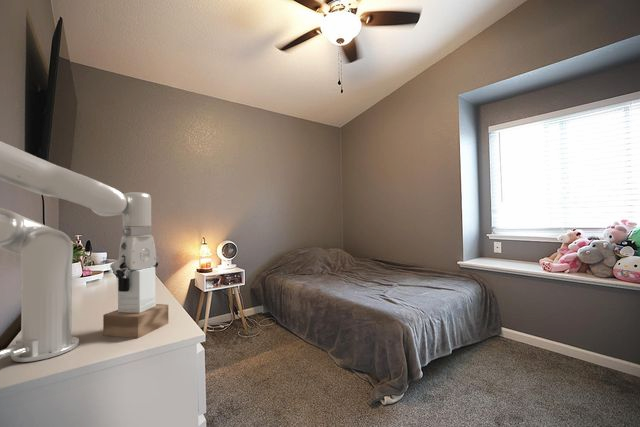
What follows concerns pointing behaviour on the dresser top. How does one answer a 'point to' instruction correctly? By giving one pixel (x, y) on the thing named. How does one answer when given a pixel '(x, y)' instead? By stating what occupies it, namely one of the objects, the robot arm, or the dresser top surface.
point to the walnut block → (135, 322)
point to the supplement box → (138, 292)
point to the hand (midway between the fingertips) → (137, 287)
